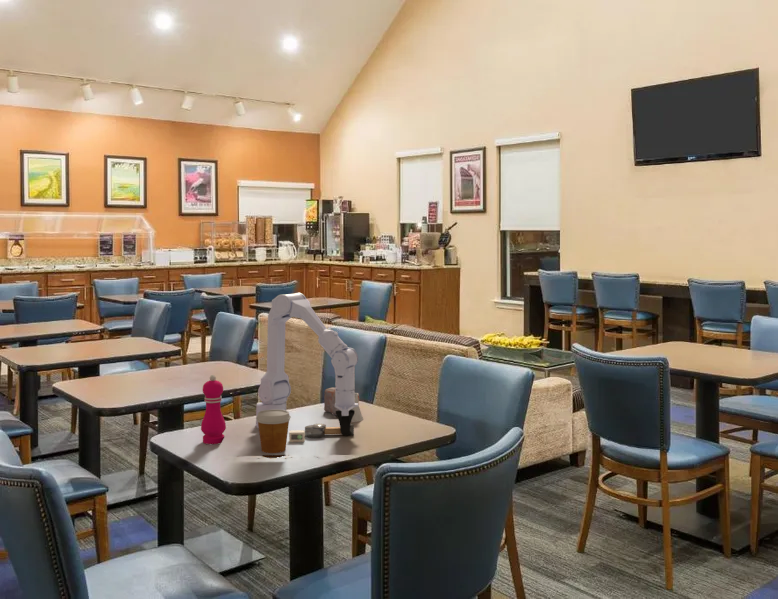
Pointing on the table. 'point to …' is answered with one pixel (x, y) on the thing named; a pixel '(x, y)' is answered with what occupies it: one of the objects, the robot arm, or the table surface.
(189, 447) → the table surface
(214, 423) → the pepper mill
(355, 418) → the flask
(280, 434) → the disposable coffee cup
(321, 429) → the wooden handled metal tool
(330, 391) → the food item
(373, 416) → the table surface
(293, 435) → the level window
